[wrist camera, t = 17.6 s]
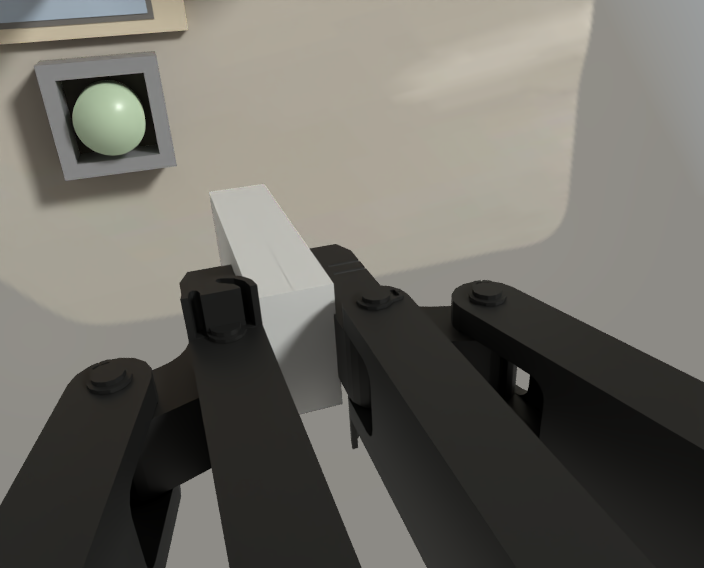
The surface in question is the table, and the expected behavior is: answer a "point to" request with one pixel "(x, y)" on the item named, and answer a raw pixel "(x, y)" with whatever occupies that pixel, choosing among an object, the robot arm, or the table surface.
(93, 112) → the button
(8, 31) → the sheet
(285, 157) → the table surface
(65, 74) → the button collar
